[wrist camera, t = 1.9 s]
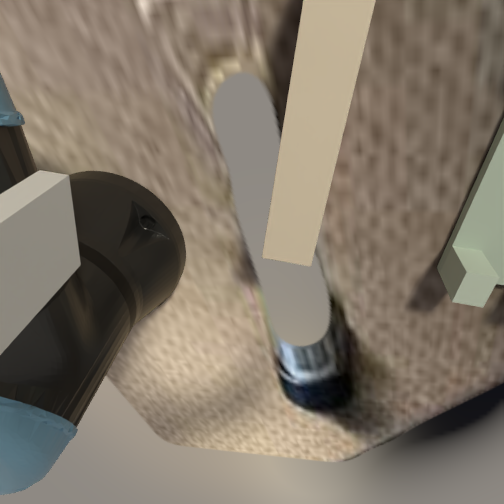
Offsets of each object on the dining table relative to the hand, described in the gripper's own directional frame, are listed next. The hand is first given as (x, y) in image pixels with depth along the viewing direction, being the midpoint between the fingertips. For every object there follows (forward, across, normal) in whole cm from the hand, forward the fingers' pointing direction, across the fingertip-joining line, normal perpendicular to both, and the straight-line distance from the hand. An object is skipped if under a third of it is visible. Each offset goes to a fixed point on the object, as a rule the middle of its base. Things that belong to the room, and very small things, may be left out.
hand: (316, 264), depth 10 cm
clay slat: (+24, 0, 0) cm, 24 cm away
